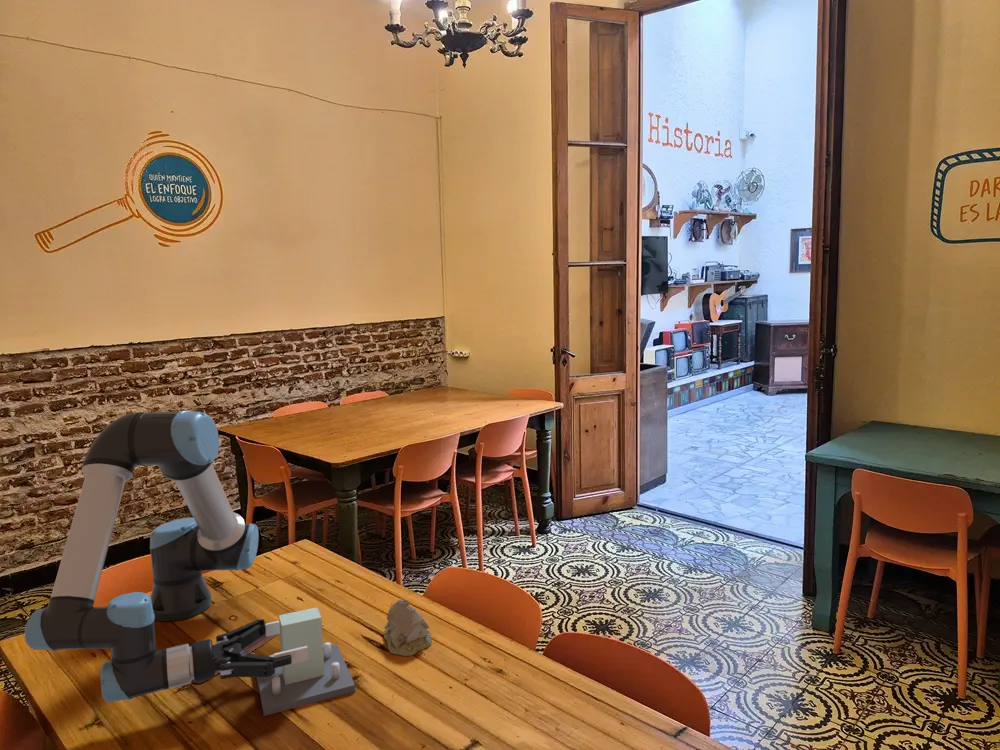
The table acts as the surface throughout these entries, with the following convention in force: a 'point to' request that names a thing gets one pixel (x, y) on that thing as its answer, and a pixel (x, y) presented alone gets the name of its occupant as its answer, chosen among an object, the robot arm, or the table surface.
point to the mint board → (302, 644)
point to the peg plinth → (306, 685)
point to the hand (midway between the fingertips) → (302, 637)
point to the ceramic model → (406, 630)
